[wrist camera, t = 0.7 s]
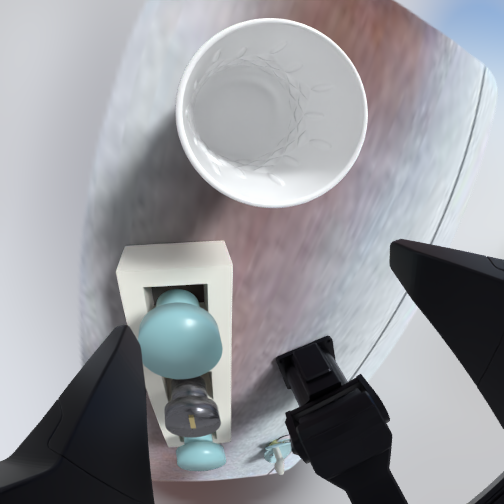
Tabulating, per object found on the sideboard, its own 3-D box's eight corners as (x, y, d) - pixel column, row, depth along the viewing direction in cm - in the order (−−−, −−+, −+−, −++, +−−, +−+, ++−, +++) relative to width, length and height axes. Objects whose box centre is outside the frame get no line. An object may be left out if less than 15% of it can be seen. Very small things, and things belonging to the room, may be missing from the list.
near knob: (213, 331, 22) (222, 375, 18) (148, 335, 21) (145, 380, 17) (212, 274, 20) (222, 316, 16) (137, 278, 19) (129, 321, 15)
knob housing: (225, 417, 34) (231, 442, 30) (166, 421, 32) (168, 447, 29) (224, 240, 23) (232, 264, 19) (125, 245, 21) (115, 271, 18)
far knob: (219, 436, 30) (226, 468, 26) (177, 440, 29) (181, 472, 25) (218, 416, 28) (225, 451, 24) (170, 420, 27) (173, 456, 23)
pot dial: (213, 396, 26) (222, 437, 22) (167, 399, 25) (170, 441, 21) (211, 366, 24) (220, 411, 20) (159, 369, 23) (160, 416, 19)
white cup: (300, 77, 18) (383, 61, 10) (274, 176, 21) (339, 222, 13) (193, 51, 16) (205, -3, 7) (168, 157, 19) (157, 192, 10)
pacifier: (299, 428, 40) (263, 437, 39) (313, 458, 35) (275, 469, 34) (293, 446, 44) (261, 454, 42) (305, 473, 38) (271, 482, 37)
